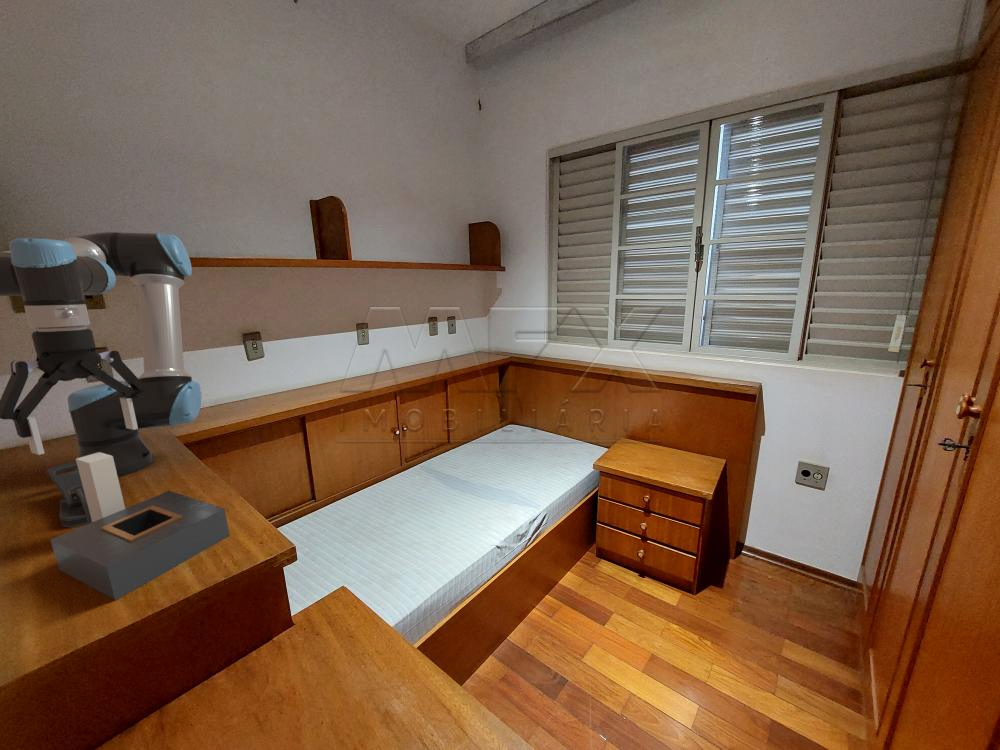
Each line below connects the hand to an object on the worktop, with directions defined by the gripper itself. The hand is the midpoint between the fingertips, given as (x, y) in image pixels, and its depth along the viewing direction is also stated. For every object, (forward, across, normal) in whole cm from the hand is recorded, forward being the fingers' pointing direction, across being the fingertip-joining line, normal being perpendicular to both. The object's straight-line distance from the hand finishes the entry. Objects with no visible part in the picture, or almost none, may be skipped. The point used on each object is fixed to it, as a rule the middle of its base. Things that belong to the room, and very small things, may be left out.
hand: (88, 440), depth 76 cm
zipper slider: (+20, +4, +20) cm, 28 cm away
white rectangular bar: (+20, 0, 0) cm, 20 cm away
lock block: (+20, -1, -15) cm, 25 cm away
